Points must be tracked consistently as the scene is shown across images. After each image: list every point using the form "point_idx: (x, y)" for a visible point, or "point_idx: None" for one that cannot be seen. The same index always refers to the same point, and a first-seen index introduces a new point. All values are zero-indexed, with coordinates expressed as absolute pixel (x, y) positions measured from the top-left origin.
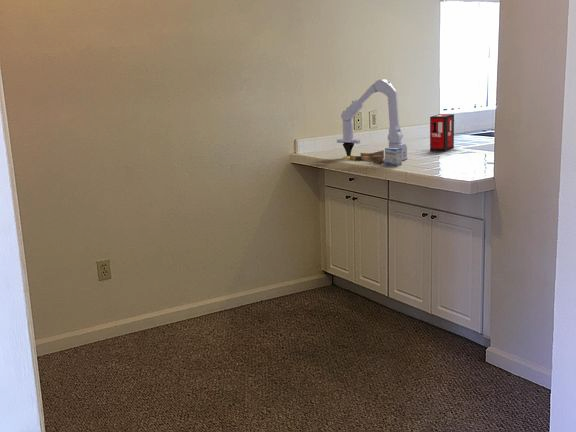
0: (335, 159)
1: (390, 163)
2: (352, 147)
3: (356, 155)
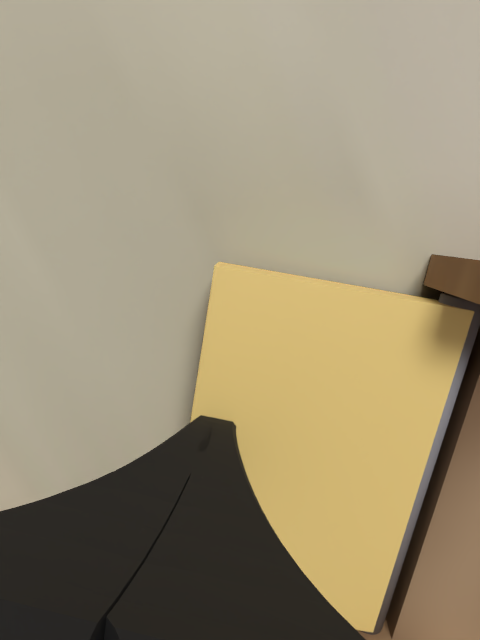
0: (9, 477)
1: None
2: (285, 564)
3: (344, 317)
